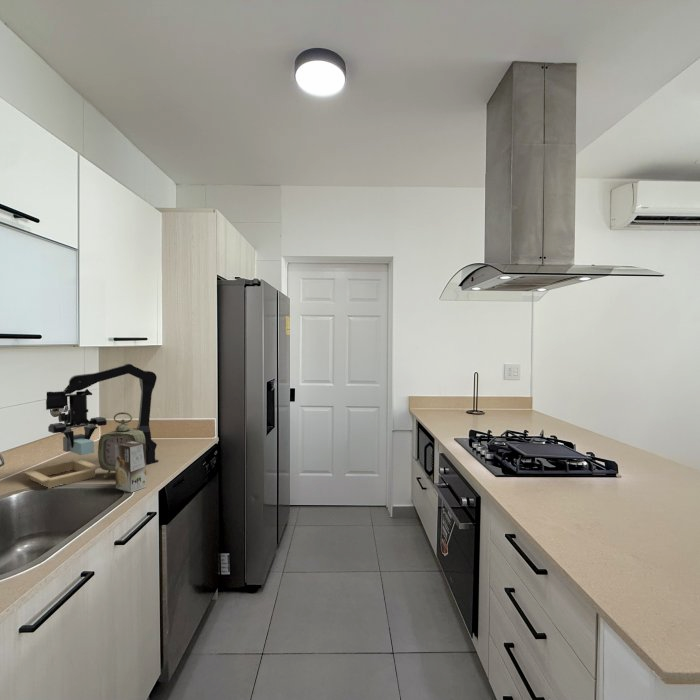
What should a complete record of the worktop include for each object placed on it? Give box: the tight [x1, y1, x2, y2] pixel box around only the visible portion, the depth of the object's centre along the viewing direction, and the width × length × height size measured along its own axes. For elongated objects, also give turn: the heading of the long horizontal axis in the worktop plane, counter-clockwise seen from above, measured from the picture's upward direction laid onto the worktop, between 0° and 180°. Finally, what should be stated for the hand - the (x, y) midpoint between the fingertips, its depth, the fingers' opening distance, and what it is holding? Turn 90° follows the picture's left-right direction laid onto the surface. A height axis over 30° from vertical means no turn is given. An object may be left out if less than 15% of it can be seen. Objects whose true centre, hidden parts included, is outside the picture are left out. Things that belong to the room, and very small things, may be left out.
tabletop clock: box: [97, 412, 146, 479], centre depth 157 cm, size 14×9×25 cm, turn 92°
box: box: [62, 433, 95, 456], centre depth 160 cm, size 14×6×6 cm, turn 56°
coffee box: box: [115, 441, 147, 493], centre depth 145 cm, size 9×6×16 cm
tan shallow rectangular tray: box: [23, 459, 101, 490], centre depth 155 cm, size 21×19×4 cm
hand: (79, 446), depth 160 cm, fingers closed on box, 4 cm apart
